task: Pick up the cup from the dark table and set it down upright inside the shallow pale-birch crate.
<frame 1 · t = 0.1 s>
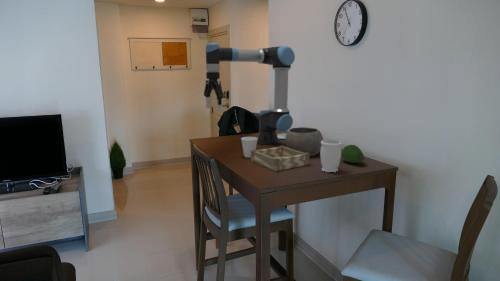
hand: (213, 109, 198), 28 cm above the table, fingers open, 13 cm apart
fruit: (352, 163, 191), on the table
jar: (329, 170, 177), on the table
bowl: (303, 153, 212), on the table
cup: (249, 156, 204), on the table
crate: (279, 163, 190), on the table
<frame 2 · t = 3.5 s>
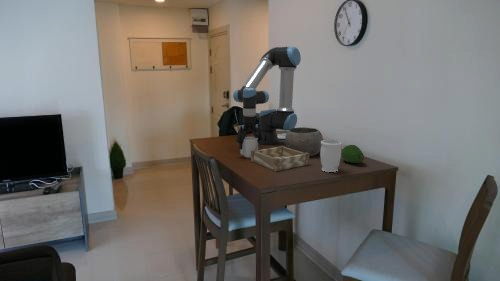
hand: (249, 153, 203), 2 cm above the table, fingers closed on cup, 9 cm apart
cup: (249, 156, 204), on the table, touching gripper
everything else where it was.
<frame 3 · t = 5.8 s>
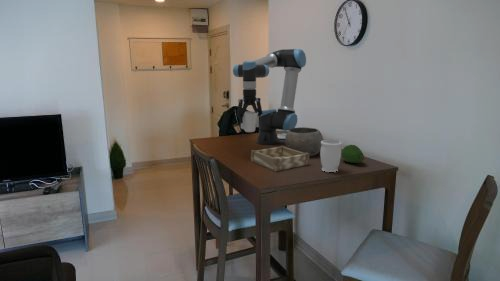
hand: (249, 127, 200), 17 cm above the table, fingers closed on cup, 9 cm apart
cup: (249, 131, 201), point 15 cm above the table, touching gripper
everything else where it was.
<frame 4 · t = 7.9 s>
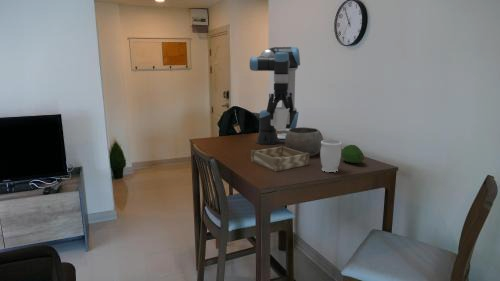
hand: (280, 124, 186), 21 cm above the table, fingers closed on cup, 9 cm apart
cup: (280, 128, 186), point 19 cm above the table, touching gripper
everything else where it was.
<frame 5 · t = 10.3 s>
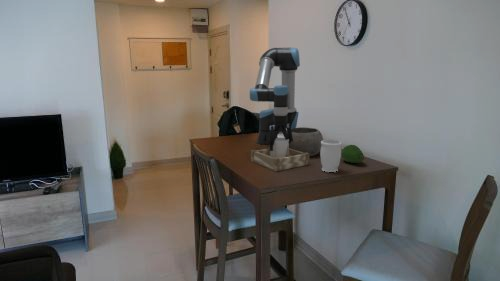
hand: (279, 155, 189), 5 cm above the table, fingers closed on cup, 9 cm apart
cup: (279, 159, 190), point 2 cm above the table, touching gripper
everything else where it was.
when the fingers open (3 cm above the table, at t = 11.8 s): cup stays where it is, resting on crate.
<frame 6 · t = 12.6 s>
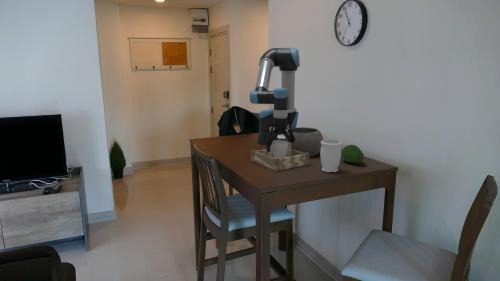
hand: (279, 155, 189), 4 cm above the table, fingers open, 13 cm apart
cup: (279, 162, 190), point 1 cm above the table, touching crate
everything else where it was.
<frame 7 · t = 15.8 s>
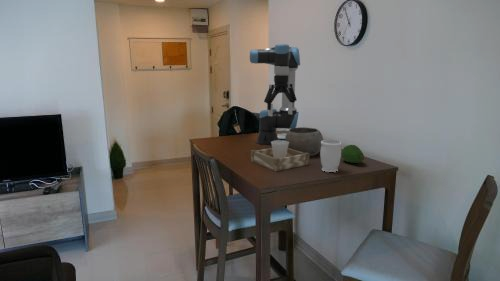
hand: (280, 115, 185), 27 cm above the table, fingers open, 13 cm apart
nothing on the table moved.
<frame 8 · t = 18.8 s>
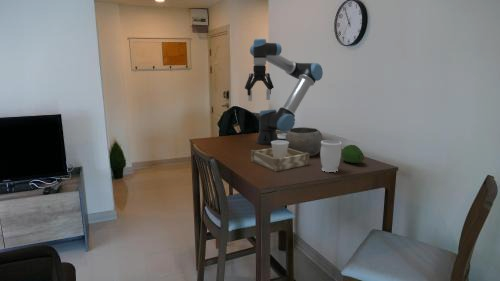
hand: (259, 100, 213), 32 cm above the table, fingers open, 13 cm apart
nothing on the table moved.
at the end: cup inside the target area on the crate (0.1 cm from its centre), point 0.6 cm above the crate's base; cup tilted 0°; the gripper is holding nothing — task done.
